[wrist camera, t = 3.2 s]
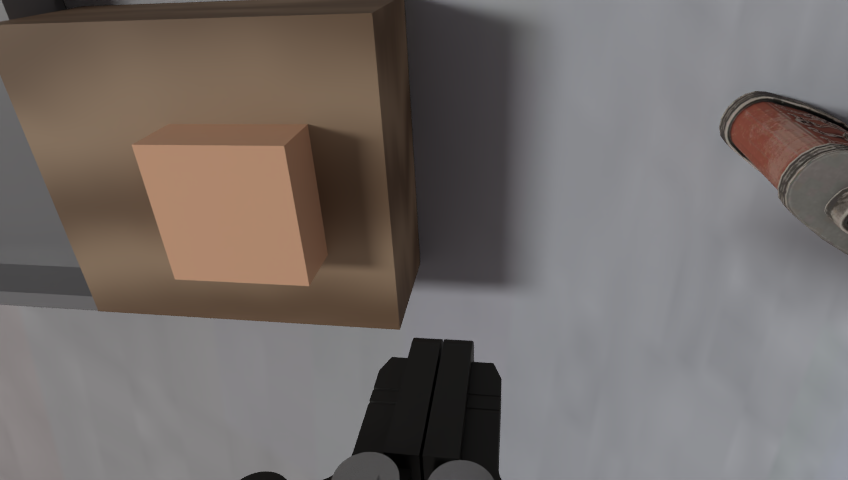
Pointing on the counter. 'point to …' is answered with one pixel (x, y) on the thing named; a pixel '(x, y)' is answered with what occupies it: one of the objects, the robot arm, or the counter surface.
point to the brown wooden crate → (225, 104)
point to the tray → (32, 211)
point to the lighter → (795, 158)
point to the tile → (235, 201)
